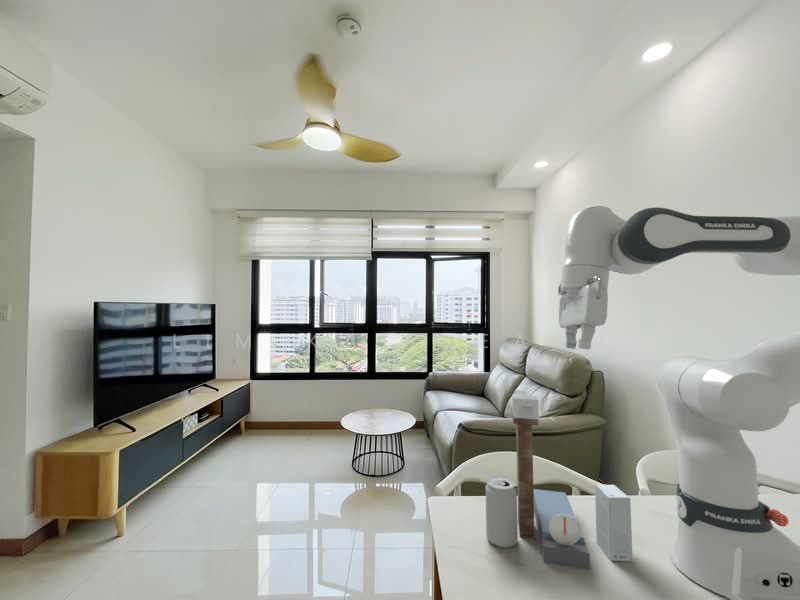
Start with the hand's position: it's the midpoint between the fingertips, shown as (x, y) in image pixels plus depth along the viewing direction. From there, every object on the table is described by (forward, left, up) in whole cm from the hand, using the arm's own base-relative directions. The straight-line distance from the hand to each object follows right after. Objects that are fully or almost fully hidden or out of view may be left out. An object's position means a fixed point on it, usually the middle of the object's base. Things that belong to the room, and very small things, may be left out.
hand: (576, 348), depth 74 cm
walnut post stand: (+10, -4, -41) cm, 42 cm away
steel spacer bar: (+10, -8, -15) cm, 20 cm away
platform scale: (+4, -6, -41) cm, 41 cm away
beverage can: (+16, 0, -41) cm, 44 cm away
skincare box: (-6, -2, -41) cm, 41 cm away
